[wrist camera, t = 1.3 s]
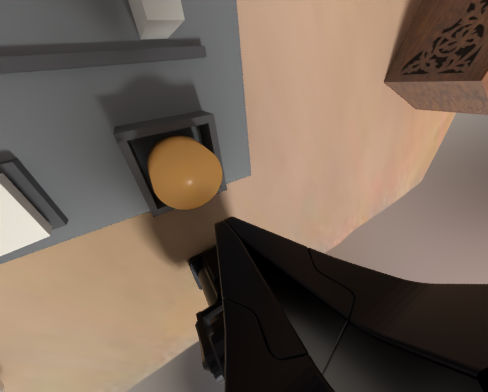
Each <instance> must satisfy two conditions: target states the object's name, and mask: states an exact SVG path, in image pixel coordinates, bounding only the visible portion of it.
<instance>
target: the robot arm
mask: <svg viewBox="0 0 488 392" xmlns="http://www.w3.org/2000/svg"><path fill="white" fill-rule="evenodd" d="M215 235H216V245H217V246H216V247H214V248H212V249H210V250H208V251H206V252H204V253H202V254H200V255H197V256H195V257H193V258H191V259H190V260H189V261H188V263H189V266H190V268H191V270H192V273H193V275H194V277H195V280H196V282H197V284H198V287H199V289H203V292H204V295H205V297H206V300H207V302H208V305H209V307H208V308H206V309H205V310H203V311H202V312H201V311H200V312H198V313H197V314H196V316H197V320H198V321H197V323H196V325H195V326H196V329H197V333H198V336H199V340H200V347H201V356H202V364H203V367H204V369H205V370H206V371H209V372H211V373H212V375H213V377H215V379H216V381H217V383H218V384H219V385H221V384H222V383H223V382H224V381H225V392H488V284H429V283H420V282H414V281H409V280H404V279H401V278H397V277H394V276H391V275H387V274H384V273H381V272H378V271H375V270H371V269H368V268H365V267H362V266H358V265H356V264H352V263H349V262H346V261H343V260H340V259H338V258H334V257H332V256H329V255H326V254H324V253H321V252H319V251H316V250H314V249H311V248H307V247H306V246H304V245H301V244H299V243H296V242H294V241H292V240H289V239H287V238H284V237H282V236H279V235H277V234H274V233H272V232H269V231H267V230H265V229H262V228H260V227H257V226H255V225H252V224H250V223H247V222H245V221H242V220H240V219H237V218H235V217H229V218H227V219H224V221H223V220H222V221H220V222H217V223H215Z"/></svg>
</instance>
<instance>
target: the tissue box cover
mask: <svg viewBox="0 0 488 392" xmlns="http://www.w3.org/2000/svg"><path fill="white" fill-rule="evenodd" d="M384 83H385V84H386V85H388V86H389V87H390V88H391V89H392V90H394V91H395V92H396V93H397V94H398V95H400V96H401V97H402V98H403V99H404V100H405V101H407V102H408V103H409V104H410V105H411V106H413V107H414V108H415V109H419V110H431V111H444V112H456V113H469V114H482V115H488V0H423V1H422V3H421V5H420V7H419V9H418V11H417V13H416V16H415V18H414V20H413V22H412V24H411V26H410V28H409V30H408V32H407V34H406V37H405V39H404V41H403V43H402V45H401V47H400V49H399V51H398V53H397V55H396V57H395V60H394V62H393V64H392V66H391V68H390V70H389V72H388V74H387V76H386V78H385V81H384Z"/></svg>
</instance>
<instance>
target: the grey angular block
mask: <svg viewBox="0 0 488 392" xmlns="http://www.w3.org/2000/svg"><path fill="white" fill-rule="evenodd" d="M128 2H129V5H130V8H131V11H132V14H133V17H134V21H135V24H136V27H137V30H138V33H139V36H140V40H142V39H168V38H169V37H170V35H171V34H172V33H173V32H174V31H175V30H176V29H177V28H178V27H179V26H180V25H181V24H182V22H183V21H184V20H185V18H184V13H183V9H182V4H181V0H128Z"/></svg>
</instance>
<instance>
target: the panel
mask: <svg viewBox="0 0 488 392" xmlns="http://www.w3.org/2000/svg"><path fill="white" fill-rule="evenodd" d="M181 4H182V9H183V13H184V18H185V20H184V21H183V22H182V24H181V25H180V26H179V27H178V28H177V29H176V30H175V31H174V32H173V33H172V34H171V35H170V37H169V38H168V39H142V40H140V36H139V33H138V30H137V27H136V24H135V21H134V17H133V14H132V11H131V8H130V5H129V2H128V0H0V174H1V173H3V174H4V175H5V176H6V177H7V178H8V179H9V180H10V181H11V183H12V184H13V185H14V186H15V187H16V188H17V189H18V190H19V191H20V192H21V193H22V194H23V196H24V197H25V198H26V199H27V200H28V201H29V202H30V203H31V204H32V205H33V206H34V208H35V209H36V210H37V211H38V212H39V213H40V214H41V215H42V216H43V217H44V218H45V219H46V221H47V222H48V223H49V224H50V225H51V226H52V229H51V236H49V237H47V238H44V239H42V240H39V241H37V242H34V243H32V244H29V245H27V246H25V247H22V248H20V249H17V250H15V251H12V252H10V253H7V254H5V255H2V256H0V264H2V263H5V262H8V261H10V260H13V259H16V258H19V257H22V256H24V255H27V254H30V253H33V252H36V251H39V250H41V249H44V248H47V247H50V246H53V245H55V244H58V243H61V242H64V241H67V240H70V239H72V238H75V237H78V236H81V235H84V234H87V233H89V232H92V231H95V230H98V229H101V228H103V227H106V226H109V225H112V224H115V223H118V222H120V221H123V220H126V219H129V218H132V217H134V216H137V215H140V214H143V213H146V212H149V211H151V213H152V215H153V217H155V216H157V215H160V214H163V213H165V212H168V211H171V210H174V209H176V208H172V207H170V206H168V205H166V204H164V203H163V202H162V201H161V200H160V199H159V198H158V197H157V195H156V194H155V192H154V189H153V186H152V183H151V179H150V176H149V172H148V168H147V157H148V153H149V151H150V149H151V148H152V146H153V145H154V144H155V143H156V142H157V141H158V140H160V139H161V138H163V137H166V136H169V135H173V134H181V135H186V136H189V137H192V138H193V139H195V140H196V141H198V142H199V143H200V144H202V145H203V146H204V147H206V148H207V149H208V150H210V151H211V152H212V153H213V154H214V155H215V156H216V157H217V159H218V160H219V162H220V164H221V168H222V182H221V185H220V187H219V190H218V191H217V193H220V192H223V191H225V190H227V186H226V184H228V183H230V182H233V181H236V180H239V179H242V178H244V177H247V176H250V175H251V167H250V155H249V143H248V132H247V120H246V108H245V96H244V85H243V73H242V61H241V49H240V38H239V26H238V14H237V3H236V0H181ZM217 193H216V194H217Z"/></svg>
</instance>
